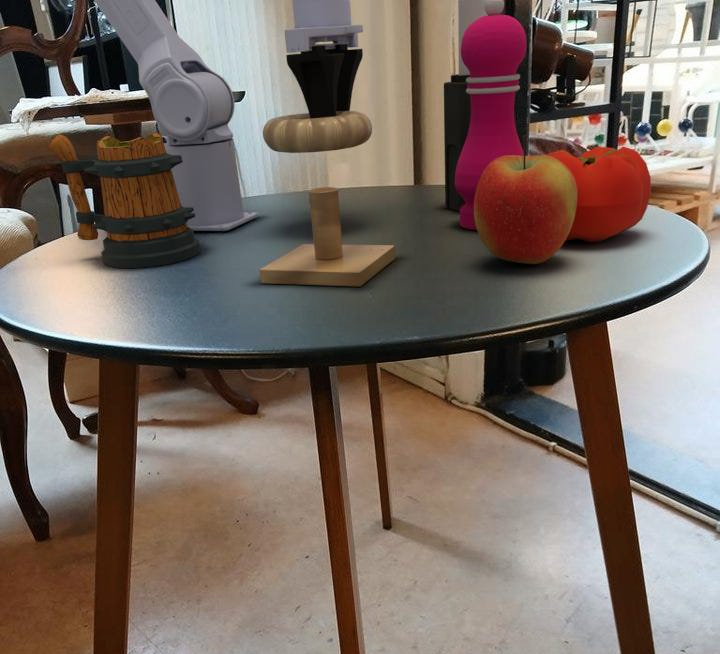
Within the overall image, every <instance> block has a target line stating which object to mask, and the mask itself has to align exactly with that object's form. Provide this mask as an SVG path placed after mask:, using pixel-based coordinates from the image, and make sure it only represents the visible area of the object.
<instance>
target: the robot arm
mask: <svg viewBox="0 0 720 654" xmlns="http://www.w3.org/2000/svg"><path fill="white" fill-rule="evenodd" d="M93 1H94V2H95V4H96V6H97V7H98V9H99V10H100V11H101V13H102V15H104V18H106V20H107V21H108V23H109V24H110V25H111V27H112V29H113V30H114V32H115V33H116V34H117V36H118V37H119V39H120V40H121V42H122V43H123V44H124V46H125V48H126V49H127V50H128V52H129V53H130V55H131V56H132V57H133V59H134V60H135V63H137V67H138V82H139V85H140V86H141V87H142V89H143V90H144V92H145V93H146V95H147V97H148V99H149V102H150V106H151V110H152V115H153V118H154V120H155V122H156V124H157V126H158V127H159V129H160V130H161V131H162V132H163V133H164V134H165V135H166V136H165V140H166V142H164V146H165V149H166V153H168V154H171V155H181V157H182V158H181V159H182V160H183V162H182V163H180V164H178V165H176V166H174V168H172V169H171V170H172V174H173V178H174V181H175V185H176V188H177V192H178V195H179V199H180V202H181V206H182V207H185V208H188V207H193V209H194V211H192V212H191V213H195V217H194V218H191V219H189V220H188V221H187V222H186V223H187V227H190V228H191V229H193V231H195V232H198V231H199V232H211V231H212V232H227V231H230V230H232V229H235V228H236V227H238V226H241V225H243V224H246V223H247V222H250V221H252V220H254V219H256V218H258V217H259V212H249V211H248V212H244V207H243V206H244V205H243V199H242V191H241V185H240V177H239V169H238V165H237V164H238V162H237V155H236V148H235V140H234V133H233V132H232V130H231V129H230V127H229V123H230V122H231V120H232V119H233V116H234V112H235V106H236V105H235V97H234V93H233V90H232V88H231V86H230V85H229V83H228V82H227V80H226V79H225V78H224V77H222V76H221V74H218V73H217V72H215V71H214V70H212V69H211V68H210V67H208V65H206V63H205V62H204V60H203V58H202V57H201V55H200V54H199V53H198V52H196V50H195V49H193V48H192V47H191V46H190V45H189V44H188V43H186V41H184V40H183V39H182V38H181V36H179V34H178V33H177V31H176V29H175V28H174V27H173V25H172V23H171V22H170V20H169V19H168V17H167V16H166V15H165V13H164V12H163V10H162V8H161V7H160V6H159V4H158V2H157V1H156V0H93ZM291 2H292V3H291V4H292V12H293V23H294V24H293V25H294V28H287V29H284V30H283V31H284V32H283V33H284V40H285V51H286V53H287V54H286V55H285V57H286V65H287V66H288V68H289V69H290V71H291V72H292V74H293V76H294V77H295V80H296V82H297V84H298V86H299V88H300V90H301V93H302V95H303V99H304V101H305V104H306V108H307V111H308V112H307V113H309V115H310V118H311V119H313V118H324V117H334V116H336V111H351V103H352V96H353V90H354V84H355V80H356V77H357V74H358V70H359V67H360V64H361V62H362V59H363V55H364V54H363V53H364V52H363V51H364V50H363V48H359V36H358V35H359V33H360V34H361V33H363V32H364V27H363V26H364V25H363V24H352V12H351V0H291ZM328 42H329V43H328ZM331 42H332V43H331ZM317 43H318V44H317ZM319 43H320V44H319ZM350 48H351V49H350ZM299 52H300V53H299ZM289 53H290V54H289Z"/></svg>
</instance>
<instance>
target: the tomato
mask: <svg viewBox="0 0 720 654" xmlns="http://www.w3.org/2000/svg"><path fill="white" fill-rule="evenodd" d="M546 155H547V156H551V157H554V158H556V159H558V160H560V161H561V162H562V163H564V164H565V165H566V166H567V167H568V169H569V170H570V171H571V173H572V174H573V176H574V178H575V181H576V185H577V207H576V213H575V217H574V221H573V224H572V227H571V229H570V232H569V234H568V236H567V238H566V240H565V241H573V240H582V241H584V242H588V243H596V242H597V243H600V242H602V241H603V240H606V239H608V238H610V237H611V238H612V237H614V236H616V235H618V234H621V233H623V232H625V231H628V230H630V229H631V228H634V227H635V226H636V225H637V224H639V222H641V221H642V220H643V217H644V216H645V213H646V211H647V209H648V205H649V201H650V197H651V194H652V183H651V181H652V180H651V174H650V171H649V167H648V163H647V162H646V161H645V159H644V158H643V157H642V156H641V154H640V153H639V152H638V151H637V150H635V149H634V148H630V147H627V146H621V147H619V149H618V148H615V147H607V146H596V147H594V148H592V149H589V150H587V151H585V152H584V153H583V154H581V155H580V156H578V157H576V156H574V155H573V154H572V153H569V152H568V151H566V150H565V149H560V150H559V149H558V150H556V151H552V152H549V153H546Z"/></svg>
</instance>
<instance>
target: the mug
mask: <svg viewBox="0 0 720 654" xmlns="http://www.w3.org/2000/svg"><path fill="white" fill-rule="evenodd" d="M146 136H147V137H136V138H134V139H132V140H127V141H126V140H125V141H121V140H120V139H117V138H115V137H113V136H110V135H105V136H104V137H102V138H100V139H97V140H96V142H95V143H96V152H97V160H96V159H84V160H81V159H78V157H77V154H76V151H75V149H74V146H73V144H72V142H71V141H70V139H69V138H68V137H67V136H65V135H64V134H61V133H59V134H57V135H55V136H54V137H53V138H52V139H51V140H50V141H49V143H48V148H49V150H50V151H51V152H52V153H53V154H55V155H56V156H57V157H58V158H60V159H61V160H62V161H61V162H60V164H61V169H62V173H63V174H66V180H67V186H68V191H69V193H70V197H71V200H72V203H73V204H74V207H75V209H76V212H75V218H76V223H77V224H79V225H78V229H77V233H76V235H77V237H78V239H79V240H82V241H96V240H98V238H99V231H98V230H100V231H104V232H106V236H105V238H104V239H102V245H103V250H102V251H101V252H100V254H101V259H102V263H103V264H104V265H105V266H106V267H111V268H116V269H143V268H152V267H159V266H165V265H170V264H175V263H179V262H182V261H185V260H190V259H191V258H193V257H195V256H197V255H199V254H200V252H201V243H200V239H198V238H196V236H195V233H194V231H193V229H191V228H190V227H187V223H186V222H187V221H188V220H189V219H191V218H194V217H195V213H191V212H192V211H194V209H193V207H188V208H185V207H182V206H181V202H180V199H179V195H178V192H177V188H176V185H175V181H174V178H173V174H172V170H171V169H172V168H174V166H176V165H178V164H180V163H182V162H183V160H182V159H181V158H182V157H181V155H171V154H168V153H166V149H165V146H164V143H165V142H164V139H163V136H162V135H161V134H160V133H159V132H152V133H148V134H146ZM82 171H84V173H87V174H91V175H94V176H98V177H100V185H101V186H100V187H101V194H102V201H103V202H102V203H103V211H104V212H103V213H104V214H98V213H96V212H95V211H94V210H91V209H92V208H91V205H90V201H89V198H88V196H87V192H86V189H85V185H84V181H83V179H82V175H81V172H82Z"/></svg>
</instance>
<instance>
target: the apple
mask: <svg viewBox="0 0 720 654" xmlns="http://www.w3.org/2000/svg"><path fill="white" fill-rule="evenodd" d="M521 138H522V139H521V141H522V149H523V152H524V156H518V155H505V156H501V157H498V158H496V159H494V160H493V161H492V162H490V163H489V164H488V165H487V167H486V168H485V170H484V171H483V173H482V175H481V177H480V180H479V183H478V186H477V189H476V193H475V199H474V218H475V224H476V228H477V230H476V231H477V234H478V236H479V238H480V240H481V242H482V244H483V245H484V246H485V248H486V249H487V250H488V252H490V253H491V254H492V255H493V256H495V257H496V258H498V259H500V260H502V261H506V262H512V263H517V264H518V263H519V264H526V265H539V264H542V263H545V262H546V261H547V260H550V259H551V258H552V257H553V256H554V255H555V254H556V253H557V252H559V250H560V249H561V248H562V246H563V245H564V243H565V240H566V238H567V236H568V234H569V232H570V229H571V227H572V224H573V221H574V217H575V213H576V207H577V185H576V181H575V178H574V176H573V174H572V173H571V171H570V170H569V169H568V167H567V166H566V165H565V164H564V163H562V162H561V161H560V160H558V159H556V158H554V157H551V156H547V154H538V155H526V141H527V138H528V135H527V134H525V135H522V137H521ZM566 241H567V240H566Z"/></svg>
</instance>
